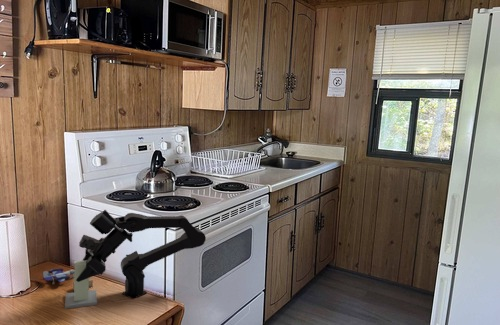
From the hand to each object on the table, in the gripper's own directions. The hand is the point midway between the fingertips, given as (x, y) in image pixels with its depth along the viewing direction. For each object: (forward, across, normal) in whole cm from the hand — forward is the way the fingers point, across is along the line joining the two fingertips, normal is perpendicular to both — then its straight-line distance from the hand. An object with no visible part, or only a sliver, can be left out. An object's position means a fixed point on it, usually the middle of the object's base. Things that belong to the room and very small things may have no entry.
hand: (77, 275), depth 136 cm
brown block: (+5, -10, +8) cm, 14 cm away
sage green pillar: (+5, 0, +7) cm, 8 cm away
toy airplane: (+10, -20, +3) cm, 22 cm away
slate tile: (+5, 0, +7) cm, 9 cm away
